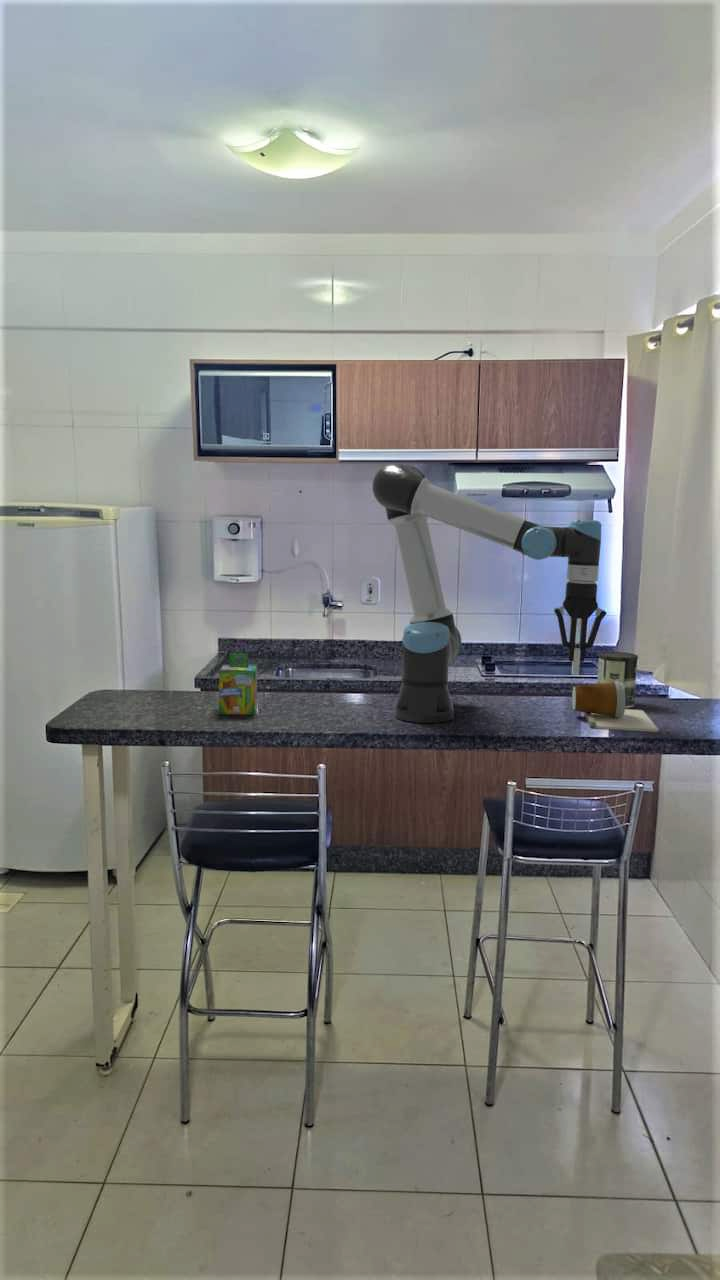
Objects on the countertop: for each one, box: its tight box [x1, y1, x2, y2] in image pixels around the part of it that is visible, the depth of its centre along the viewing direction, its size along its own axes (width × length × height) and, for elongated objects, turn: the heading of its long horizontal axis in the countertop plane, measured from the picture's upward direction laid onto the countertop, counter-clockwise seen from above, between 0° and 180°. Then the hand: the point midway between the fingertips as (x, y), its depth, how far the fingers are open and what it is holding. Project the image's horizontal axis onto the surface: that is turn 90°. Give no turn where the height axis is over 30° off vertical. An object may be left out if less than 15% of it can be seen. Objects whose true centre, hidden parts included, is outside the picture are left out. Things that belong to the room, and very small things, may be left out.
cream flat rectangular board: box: [582, 708, 660, 733], centre depth 204 cm, size 16×20×2 cm
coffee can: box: [596, 651, 639, 709], centre depth 220 cm, size 10×10×14 cm
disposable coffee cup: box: [571, 681, 626, 718], centre depth 204 cm, size 10×10×12 cm
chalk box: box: [218, 653, 258, 716], centre depth 203 cm, size 9×9×15 cm
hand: (575, 674), depth 204 cm, fingers closed
